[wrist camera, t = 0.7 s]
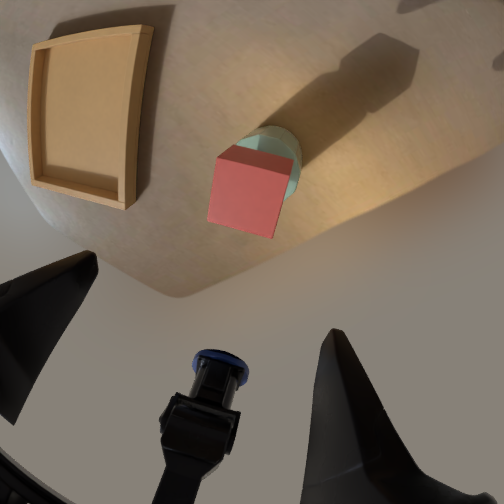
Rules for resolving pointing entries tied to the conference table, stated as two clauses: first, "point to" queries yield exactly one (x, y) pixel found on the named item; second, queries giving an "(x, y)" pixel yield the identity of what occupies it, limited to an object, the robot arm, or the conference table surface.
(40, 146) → the tray
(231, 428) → the robot arm
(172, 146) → the conference table surface
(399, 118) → the conference table surface
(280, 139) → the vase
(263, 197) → the cube with green stem
